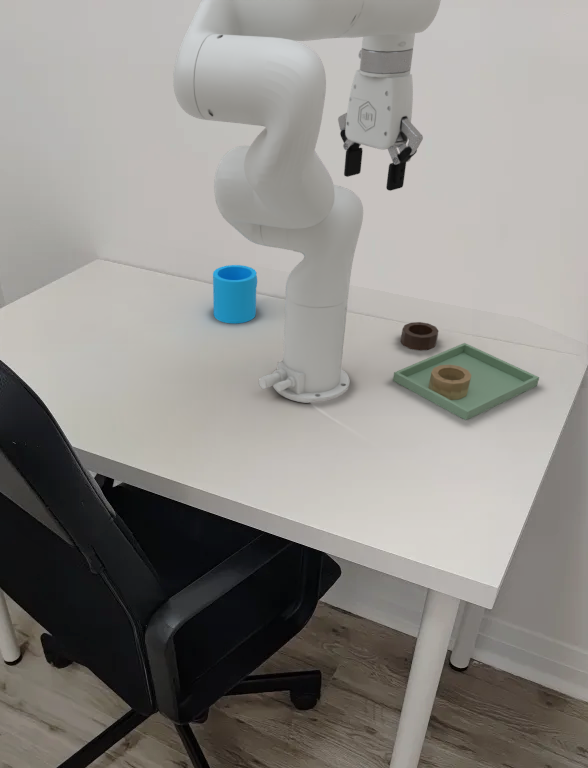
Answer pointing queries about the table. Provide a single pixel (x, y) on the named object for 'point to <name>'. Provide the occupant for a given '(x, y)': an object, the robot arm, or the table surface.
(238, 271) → the mug
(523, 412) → the table surface
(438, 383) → the birch ring
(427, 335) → the walnut ring
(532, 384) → the tray
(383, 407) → the table surface
